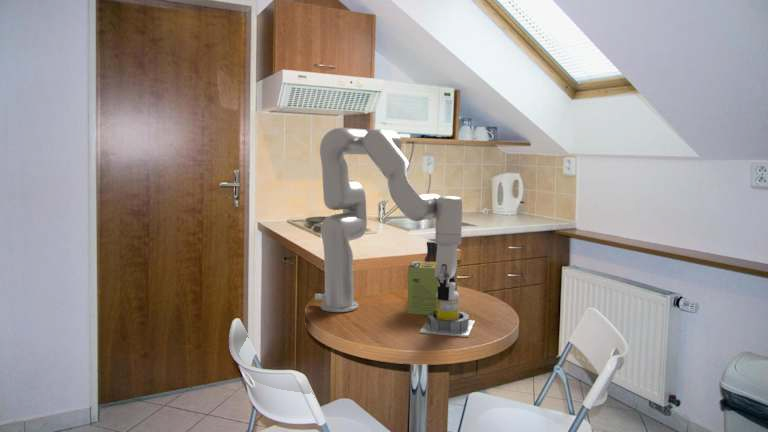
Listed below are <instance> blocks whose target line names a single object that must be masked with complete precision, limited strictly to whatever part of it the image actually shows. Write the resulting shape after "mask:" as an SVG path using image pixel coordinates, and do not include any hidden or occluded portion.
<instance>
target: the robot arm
mask: <svg viewBox="0 0 768 432" xmlns="http://www.w3.org/2000/svg"><path fill="white" fill-rule="evenodd" d="M402 143H403V142H402V139H401V136H400V135H398V133H397V132H396V131H394V130H391V129H376V128H375V129H369V128H367V129H366V128H355V127H354V128H353V127H337V128H333V129H331V130H329V131H328V132H327V133H326V134H325V135H324V136H323V137H322V139H321V142H320V146H319V155H320V160H321V161H320V163H321V170H322V171H321V172H322V192H323V193H322V195H323V202H324V205H325V207H326V208H327V209H329V210H332V211H340V210H342V213H337V214H336V213H335V214H331V215H329V216H327V217H326V218H324V220H323V221H322V223H321V226H320V234H321V235H320V236H321V239H322V244H323V258H324V259H323V260H324V261H323V263H324V292H323V294H322V293H314V301H318V302H319V301H321V304H320V309H321V310H322V311H325V312H328V313H329V312H330V313H347V312H351V311H354V310H356V309H358V308H359V302H358V301H355V300H354V257H353V256H354V255H353V251H352V247H351V245H350V241H354V240H357V239H361V237H363V236H364V235H365V233H366V232H367V224H368V220H367V200H366V198H367V196H366V191H365V190H364V189H365V188H364V187H363V186H362V185H361V183H360V182H358V181H356V180H351V179H349V167H348V164H347V161H346V159H345V158H344V157H345V156H346V155H367V156H368V157H369V158H370V159H371V161H372V162H373V163H374V164H375V166H376V168H378V170H379V171H380V172H381V173H382V175H383V176H384V177H385V179H386V180H387V186H388V191H389V194H390V197H391V199H392V201H393V203H395V205H396V206H397V208H398V209H399V210H400V212H402V214H403V215H404V216H405V217H406V218H408V219H409V220H411V221H413V222H420V221H425V220H430V219H435V235H434V237H435V239H434V241H435V243H436V244H438V246H437V254H436V267H435V277H436V278H438V277H439V282H438V296H437V299H438V300H446V301H448V300H449V287H448V284H449V282H454V283H455V279H454V278H455V273H456V267H457V268H458V246H461V244H462V230H463V229H462V227H463V224H462V223H463V222H462V221H463V200H462V198H461V197H459V196H456V195H444V196H443V195H440V194H437V193H423V194H419V193H418V192H416V191H417V190H415V189H414V187H413V186H412V184H410V181H409V179H408V177H407V172H408V171H409V169H410V167H411V166H410V162H409V160H408V158H406V157H405V155H404V154H403V153H402V151H401V150H402Z"/></svg>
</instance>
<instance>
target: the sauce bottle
mask: <svg viewBox="0 0 768 432" xmlns="http://www.w3.org/2000/svg"><path fill="white" fill-rule="evenodd" d="M437 247H438V244H436V243H435V240H427V241H426V248H427V250H426V252H427V253H426V255H425V257H424V262H436V254H437Z"/></svg>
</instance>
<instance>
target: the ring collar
mask: <svg viewBox="0 0 768 432" xmlns="http://www.w3.org/2000/svg"><path fill="white" fill-rule="evenodd" d="M426 316H427V318H426V322H425V323H424V324H423V326H422V327H421V329H420V330H419V334H429V335H441V336H451V337H461V338H469V336H470V335H471V332H472V330H473V327H474V325H475V324H476V320H471V319H470V315H469V314H468V313H467V312H463V311H460V310H459V320H450V321H449V320H440V319H437V318H436V311H433V312H430V313H429V314H428V315H426Z"/></svg>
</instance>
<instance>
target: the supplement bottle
mask: <svg viewBox="0 0 768 432" xmlns="http://www.w3.org/2000/svg"><path fill="white" fill-rule="evenodd" d="M448 287H449V300H448V301H446V300H438V299H437V296H438V293H437V295H436V318H437V319H440V320H449V321H450V320H459V311H460V293H459V292H458V291H457V292H456V291H455V288H456V284H455V283H454V282H449V284H448Z"/></svg>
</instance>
